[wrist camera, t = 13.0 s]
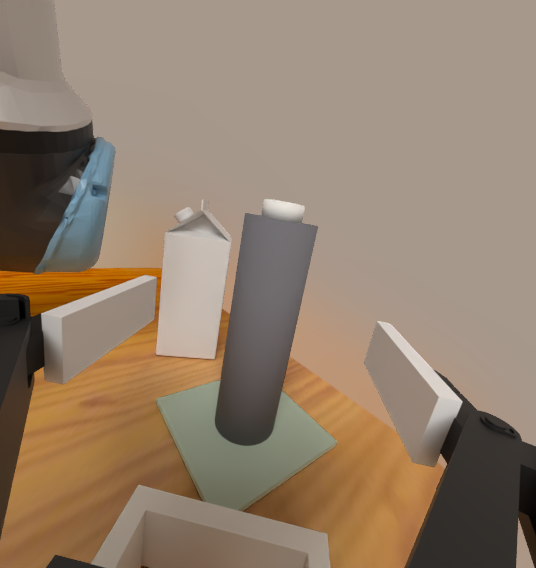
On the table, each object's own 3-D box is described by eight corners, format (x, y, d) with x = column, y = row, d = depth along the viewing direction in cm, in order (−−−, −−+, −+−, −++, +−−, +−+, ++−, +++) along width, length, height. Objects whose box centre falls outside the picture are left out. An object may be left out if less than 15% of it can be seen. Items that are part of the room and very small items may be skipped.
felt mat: (156, 403, 25) (156, 398, 24) (257, 371, 32) (258, 368, 32) (215, 529, 16) (216, 524, 16) (335, 445, 23) (337, 441, 23)
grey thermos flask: (204, 410, 24) (233, 193, 19) (251, 393, 27) (286, 205, 23) (234, 456, 20) (281, 198, 15) (285, 429, 24) (337, 212, 19)
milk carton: (217, 334, 40) (235, 206, 35) (214, 361, 33) (236, 205, 28) (168, 330, 38) (179, 195, 33) (155, 356, 32) (167, 193, 27)
